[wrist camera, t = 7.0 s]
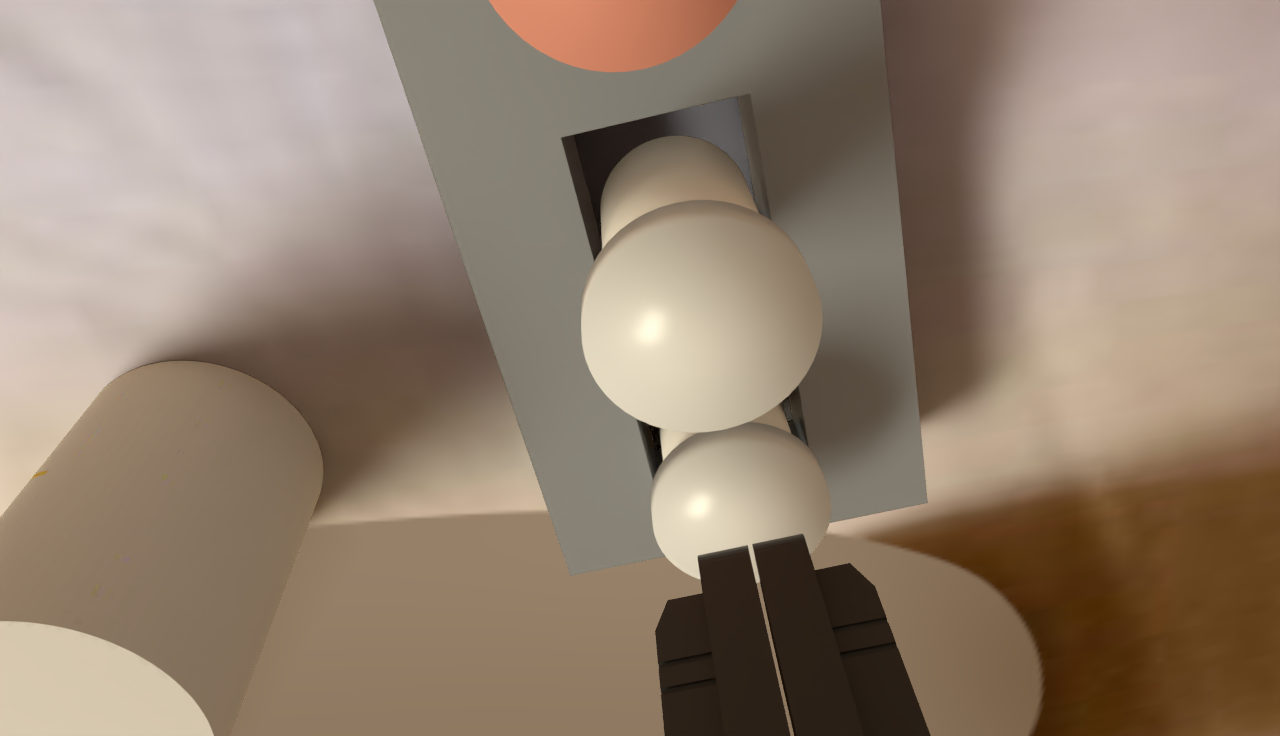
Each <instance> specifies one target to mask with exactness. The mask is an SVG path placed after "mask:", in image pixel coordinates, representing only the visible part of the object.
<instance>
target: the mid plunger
mask: <svg viewBox="0 0 1280 736" xmlns="http://www.w3.org/2000/svg"><path fill="white" fill-rule="evenodd" d="M600 210H601V233H602V250H601V252H600V253H599V254H598V256H597V258H596V259H595V261H594V263H593V265H592V267H591V269H590V271H589V274H588V276H587V279H586V282H585V286H584V290H583V294H582V306H581V335H582V346H583V351H584V356H585V359H586V362H587V365H588V367H589V370H590V372H591V374H592V376H593V378H594V379H595V381H596V383H597V384H598V386H599V387H600V388H601V390H602V391H603V392H604V394H605V395H606V396H607V397H608V398H609V399H610V400H611V401H612V402H613V403H614V404H616V405H617V406H618V407H619V408H621V409H622V410H623V411H625V412H626V413H628V414H629V415H631V416H633V417H635V418H636V419H638V420H640V421H643V422H645V423H647V424H650V425H652V426H656V427H659V428H662V429H667V430H672V431H678V432H691V433H698V432H712V431H718V430H724V429H728V428H732V427H735V426H739V425H741V424H744V423H746V422H749V421H752V420H754V419H755V418H757V417H759V416H761V415H763V414H765V413H767V412H768V411H770V410H771V409H772V408H774V407H775V406H777V405H778V404H779V403H781V402H782V401H783V400H784V399H785V398H786V397H788V396H789V395H790V394H791V392H792V391H793V390H794V389H795V388H796V387H797V386H798V385H799V383H800V382H801V381H802V379H803V378H804V376H805V375H806V374H807V372H808V370H809V368H810V366H811V365H812V363H813V361H814V358H815V356H816V353H817V350H818V348H819V343H820V339H821V334H822V323H823V316H822V304H821V300H820V295H819V291H818V289H817V286H816V284H815V281H814V278H813V276H812V274H811V272H810V270H809V268H808V266H807V264H806V262H805V259H804V258H803V256H802V254H801V252H800V251H799V249H798V247H797V246H796V244H795V243H794V242H793V241H792V239H791V238H790V237H789V236H788V235H787V234H786V233H785V232H784V231H783V230H782V229H781V228H780V227H779V226H778V225H777V224H775V223H774V222H772V221H771V220H770V219H768V218H767V217H765V216H763V215H761V214H759V212H758V209H757V207H756V205H755V202H754V200H753V197H752V195H751V193H750V190H749V188H748V186H747V183H746V181H745V178H744V176H743V174H742V172H741V170H740V169H739V167H738V166H737V164H736V163H735V162H734V160H733V159H732V158H731V157H730V156H729V155H728V154H727V153H726V152H724V151H723V150H721V149H720V148H719V147H717V146H715V145H713V144H712V143H710V142H707V141H705V140H702V139H699V138H694V137H690V136H666V137H660V138H657V139H654V140H650V141H648V142H646V143H643V144H641V145H639V146H638V147H636V148H634V149H633V150H631V151H630V152H629V153H628V154H626V155H625V156H624V157H623V158H622V159H621V160H620V161H619V162H618V163H617V165H616V166H615V167H614V169H613V170H612V171H611V173H610V175H609V177H608V179H607V181H606V183H605V186H604V189H603V193H602V197H601V206H600Z"/></svg>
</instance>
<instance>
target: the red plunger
mask: <svg viewBox="0 0 1280 736" xmlns="http://www.w3.org/2000/svg"><path fill="white" fill-rule="evenodd" d="M489 1H490V3H491V4H492V6H493V7H494V9H495V10H496V12H497V13H498V14H499V15H500V17H501V18H502V19H503V20H504V21H505V22H506V24H507V25H508V26H509V27H510V28H511V29H512V30H513V31H514V32H515V33H517V34H518V35H519V36H520V37H521V38H522V39H523V40H524V41H526V42H527V43H529V44H530V45H531V46H533V47H534V48H536V49H537V50H538V51H540V52H542V53H544V54H546V55H548V56H550V57H551V58H553V59H555V60H558V61H560V62H563V63H566V64H568V65H571V66H574V67H578V68H582V69H587V70H591V71H601V72H629V71H634V70H640V69H646V68H649V67H652V66H656V65H659V64H662V63H665V62H667V61H669V60H671V59H673V58H675V57H678V56H680V55H681V54H683V53H685V52H686V51H688V50H689V49H691V48H693V47H694V46H696V45H697V44H698V43H699V42H701V41H702V40H703V39H704V38H705V37H707V36H708V35H709V34H710V33H711V32H712V31H713V30H714V29H715V28H716V27H717V26H718V25H719V24H720V23H721V22H722V21H723V20H724V18H725V17H726V16H727V14H728V13H729V12H730V10H731V9H732V7H733V6H734V5H735V3H736V2H737V0H489Z"/></svg>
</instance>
